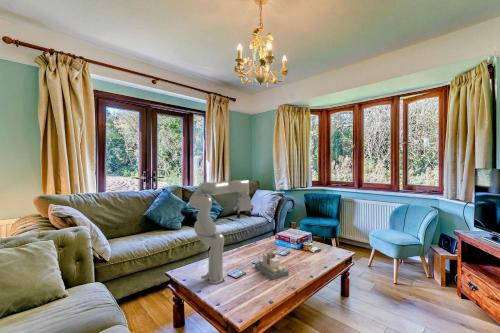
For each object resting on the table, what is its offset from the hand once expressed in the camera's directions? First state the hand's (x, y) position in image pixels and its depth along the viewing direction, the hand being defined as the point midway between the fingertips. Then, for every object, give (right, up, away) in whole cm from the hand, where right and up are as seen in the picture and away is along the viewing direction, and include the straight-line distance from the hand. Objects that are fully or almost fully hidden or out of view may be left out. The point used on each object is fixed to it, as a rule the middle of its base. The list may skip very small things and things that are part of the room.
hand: (243, 217), depth 179 cm
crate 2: (+22, -31, -17) cm, 42 cm away
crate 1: (+18, -31, -9) cm, 37 cm away
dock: (+20, -37, -13) cm, 44 cm away
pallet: (+20, -33, -13) cm, 40 cm away
